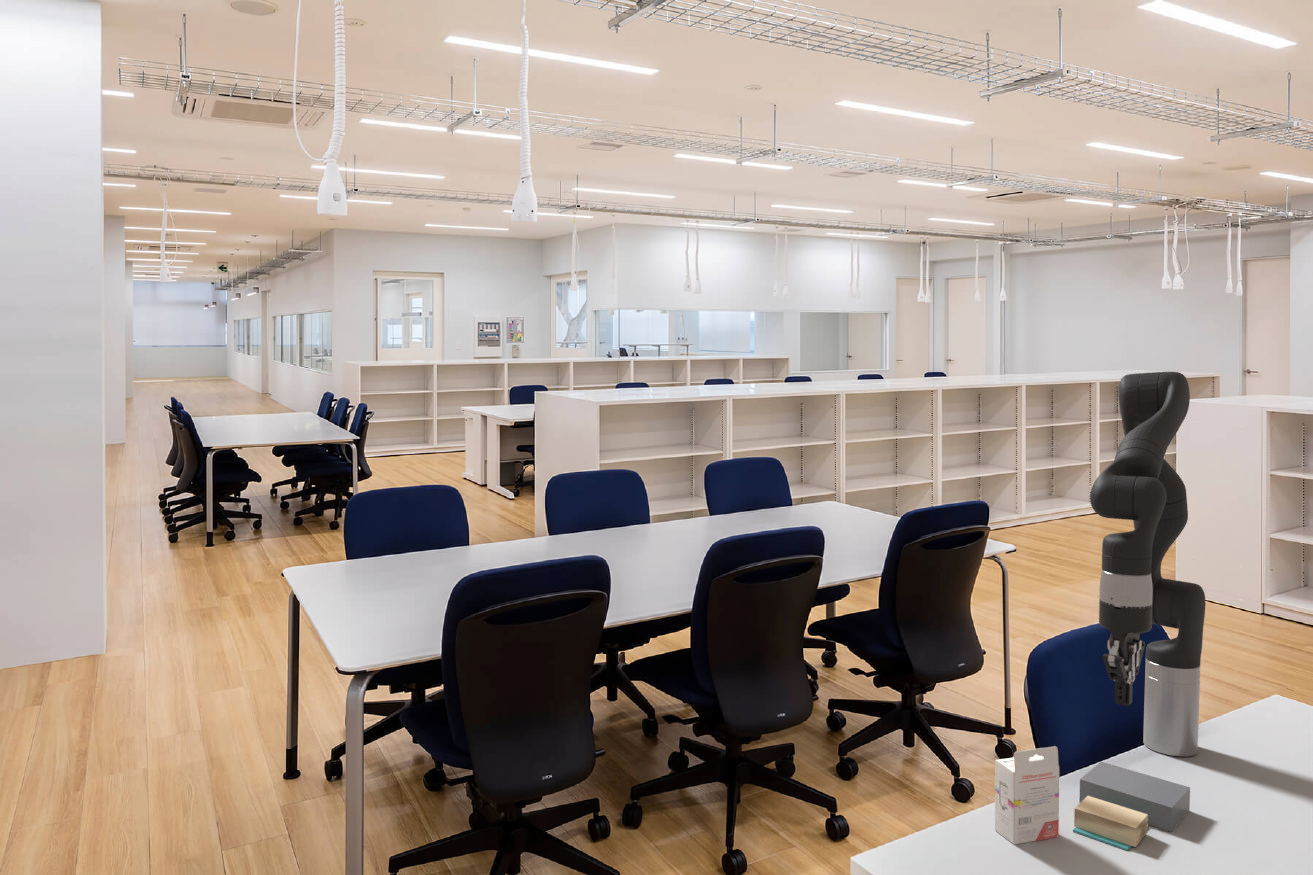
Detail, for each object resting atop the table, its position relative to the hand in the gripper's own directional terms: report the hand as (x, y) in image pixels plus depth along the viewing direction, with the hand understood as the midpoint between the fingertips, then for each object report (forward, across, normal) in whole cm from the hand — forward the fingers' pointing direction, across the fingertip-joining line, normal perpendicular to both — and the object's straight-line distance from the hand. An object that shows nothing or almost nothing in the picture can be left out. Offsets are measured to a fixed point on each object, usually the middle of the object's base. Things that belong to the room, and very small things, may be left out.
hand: (1123, 703), depth 139 cm
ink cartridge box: (+20, +15, -9) cm, 26 cm away
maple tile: (+18, +5, 0) cm, 18 cm away
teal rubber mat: (+20, +4, 0) cm, 20 cm away
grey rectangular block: (+20, -7, 0) cm, 21 cm away
